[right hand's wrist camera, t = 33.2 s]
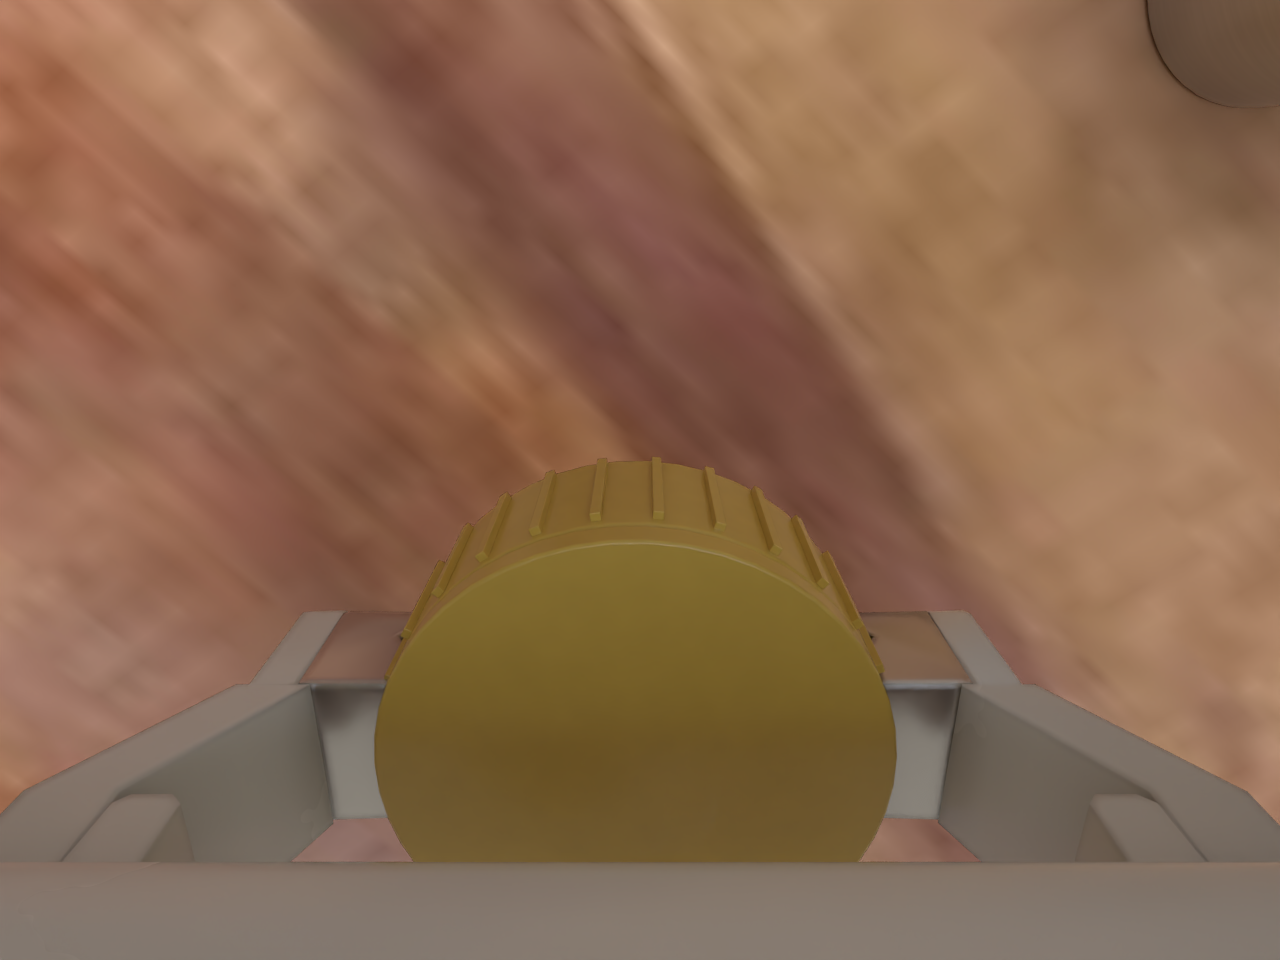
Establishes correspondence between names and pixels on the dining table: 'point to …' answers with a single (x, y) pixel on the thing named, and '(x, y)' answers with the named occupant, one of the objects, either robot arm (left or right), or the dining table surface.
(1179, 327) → the dining table surface
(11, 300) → the dining table surface
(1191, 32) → the silver canister
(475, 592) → the lid
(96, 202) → the dining table surface
